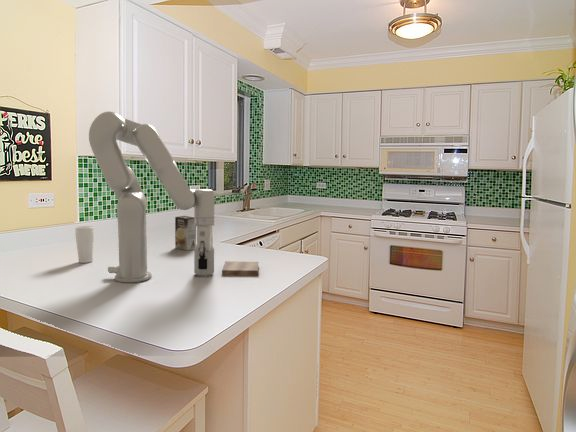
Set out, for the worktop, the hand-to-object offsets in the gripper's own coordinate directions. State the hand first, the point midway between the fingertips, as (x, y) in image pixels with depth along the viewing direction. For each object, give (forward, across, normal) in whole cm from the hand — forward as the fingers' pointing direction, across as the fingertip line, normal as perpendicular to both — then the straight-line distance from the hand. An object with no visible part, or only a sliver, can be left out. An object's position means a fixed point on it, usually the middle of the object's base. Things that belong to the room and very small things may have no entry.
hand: (204, 265), depth 150 cm
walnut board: (+3, +6, -14) cm, 16 cm away
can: (+4, 0, 0) cm, 4 cm away
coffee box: (+4, +47, +16) cm, 50 cm away
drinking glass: (+3, +17, +52) cm, 55 cm away
